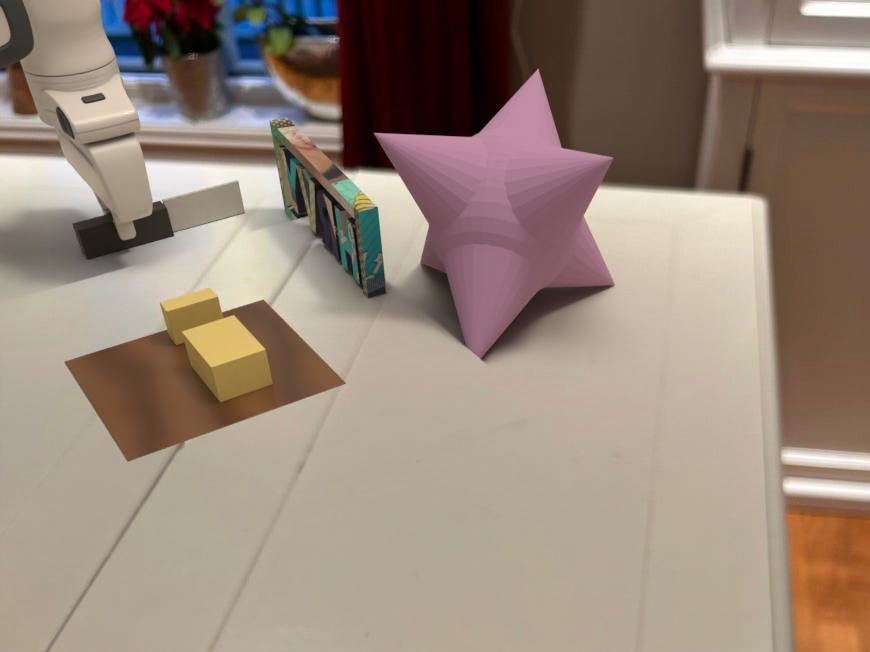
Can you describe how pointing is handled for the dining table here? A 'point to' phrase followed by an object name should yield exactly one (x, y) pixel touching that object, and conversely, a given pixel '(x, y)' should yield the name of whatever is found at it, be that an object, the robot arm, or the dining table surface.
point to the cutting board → (192, 384)
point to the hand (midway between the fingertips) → (121, 230)
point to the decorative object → (503, 211)
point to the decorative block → (329, 205)
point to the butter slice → (190, 312)
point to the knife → (161, 219)
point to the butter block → (227, 358)
